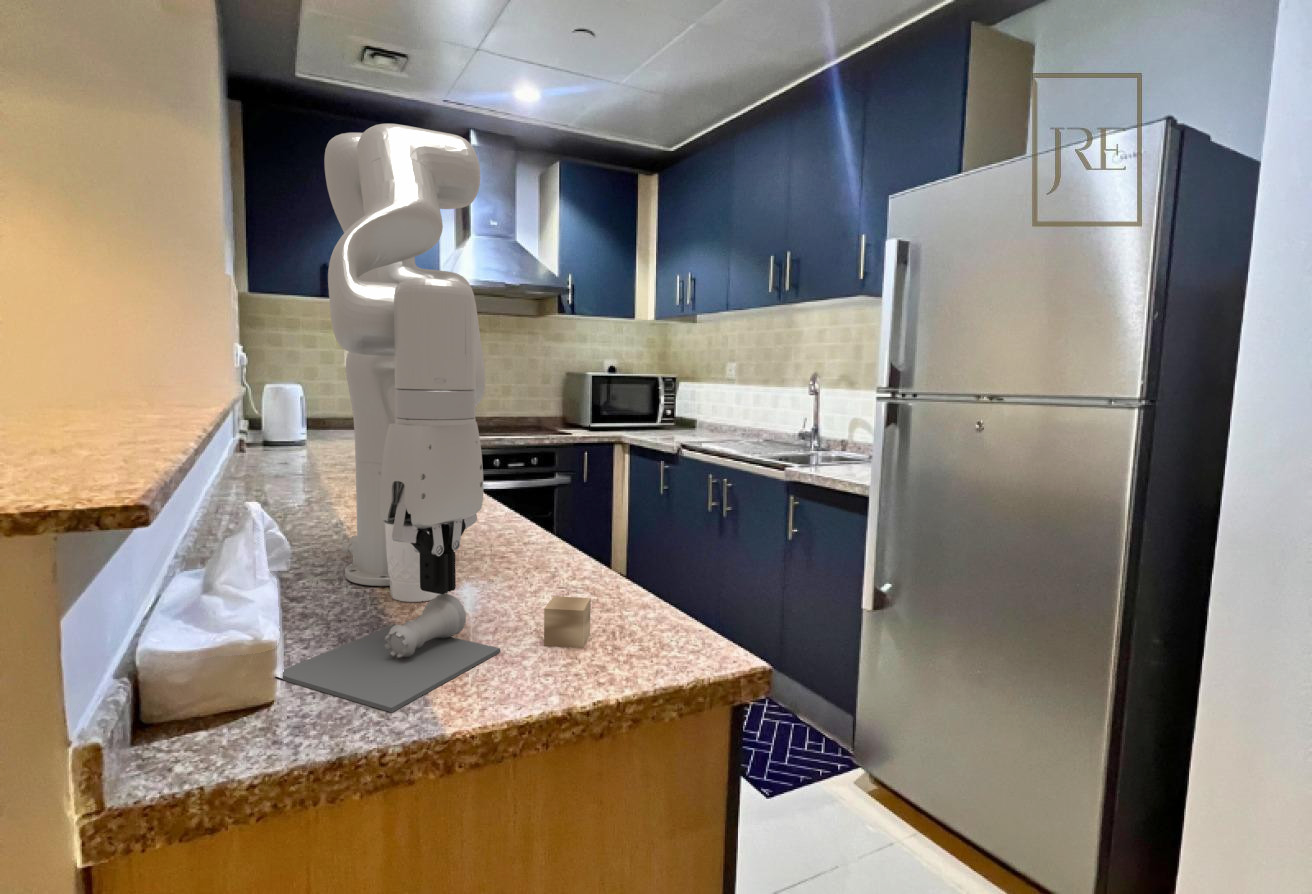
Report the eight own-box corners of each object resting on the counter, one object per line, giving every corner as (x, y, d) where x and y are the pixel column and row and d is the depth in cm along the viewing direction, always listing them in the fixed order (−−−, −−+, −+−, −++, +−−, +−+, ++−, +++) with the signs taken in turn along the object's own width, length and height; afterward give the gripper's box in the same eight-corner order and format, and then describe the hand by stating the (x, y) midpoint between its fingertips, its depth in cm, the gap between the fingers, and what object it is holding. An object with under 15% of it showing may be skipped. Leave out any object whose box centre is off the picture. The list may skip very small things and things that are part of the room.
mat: (274, 677, 62) (274, 673, 62) (394, 627, 75) (394, 624, 75) (391, 712, 56) (391, 707, 56) (500, 652, 69) (500, 648, 69)
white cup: (425, 608, 81) (424, 523, 80) (371, 599, 84) (369, 517, 83) (465, 589, 89) (465, 511, 88) (415, 581, 91) (413, 506, 90)
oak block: (543, 646, 71) (544, 608, 70) (553, 632, 75) (553, 596, 74) (582, 649, 70) (583, 610, 70) (590, 634, 74) (590, 598, 74)
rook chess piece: (472, 633, 71) (417, 668, 64) (438, 632, 73) (381, 667, 66) (464, 591, 71) (407, 622, 64) (430, 592, 73) (371, 622, 66)
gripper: (457, 404, 77) (458, 567, 79) (345, 409, 63) (350, 605, 65) (513, 407, 74) (513, 577, 76) (408, 413, 60) (411, 619, 62)
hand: (437, 590), depth 70 cm, fingers closed
